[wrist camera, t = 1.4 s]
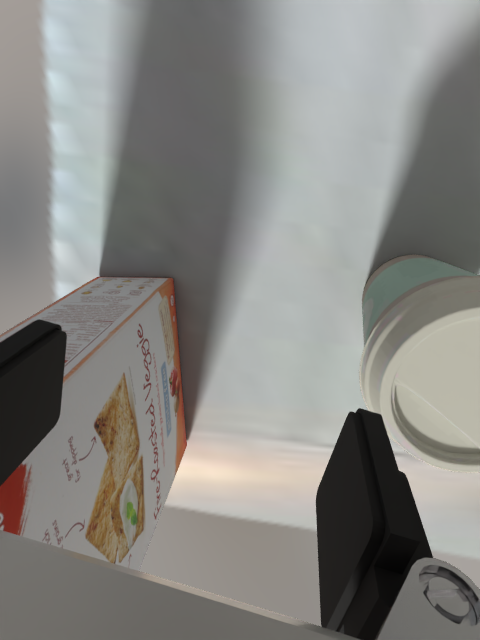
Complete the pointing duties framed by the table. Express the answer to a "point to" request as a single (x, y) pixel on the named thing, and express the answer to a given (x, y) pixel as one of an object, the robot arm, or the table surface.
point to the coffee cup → (424, 359)
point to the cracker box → (106, 424)
